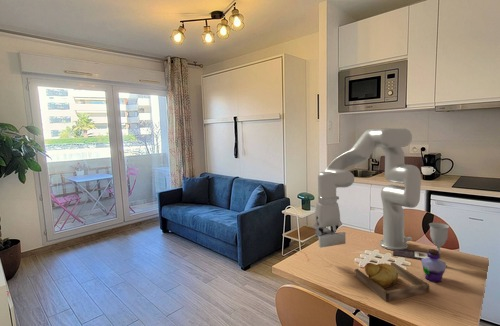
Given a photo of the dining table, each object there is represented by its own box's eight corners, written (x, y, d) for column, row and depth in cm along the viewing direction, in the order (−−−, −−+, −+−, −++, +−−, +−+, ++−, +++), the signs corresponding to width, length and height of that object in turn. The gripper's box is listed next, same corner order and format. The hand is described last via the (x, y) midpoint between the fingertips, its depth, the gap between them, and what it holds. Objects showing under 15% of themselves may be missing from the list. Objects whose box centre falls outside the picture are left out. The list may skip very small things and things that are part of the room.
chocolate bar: (393, 247, 138) (436, 253, 129) (393, 249, 138) (436, 255, 129) (393, 254, 130) (438, 261, 121) (393, 256, 130) (438, 263, 121)
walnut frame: (393, 268, 118) (393, 262, 118) (429, 292, 101) (429, 284, 100) (355, 276, 114) (355, 269, 114) (385, 301, 97) (385, 293, 96)
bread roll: (386, 273, 115) (386, 255, 114) (407, 284, 106) (407, 265, 105) (362, 280, 111) (362, 261, 110) (381, 293, 102) (381, 273, 101)
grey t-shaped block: (330, 233, 131) (330, 222, 130) (345, 243, 118) (345, 232, 117) (306, 236, 128) (306, 226, 127) (320, 247, 115) (319, 236, 115)
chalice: (449, 264, 119) (450, 224, 117) (447, 271, 114) (448, 229, 112) (429, 260, 124) (430, 221, 122) (426, 265, 119) (427, 225, 117)
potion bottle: (416, 278, 110) (417, 250, 108) (425, 271, 115) (425, 243, 114) (441, 287, 103) (442, 257, 102) (449, 279, 108) (450, 250, 107)
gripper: (339, 196, 124) (340, 235, 126) (306, 200, 120) (307, 240, 122) (349, 200, 117) (349, 241, 119) (313, 204, 113) (315, 247, 115)
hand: (328, 240), depth 120 cm, fingers closed on grey t-shaped block, 3 cm apart
